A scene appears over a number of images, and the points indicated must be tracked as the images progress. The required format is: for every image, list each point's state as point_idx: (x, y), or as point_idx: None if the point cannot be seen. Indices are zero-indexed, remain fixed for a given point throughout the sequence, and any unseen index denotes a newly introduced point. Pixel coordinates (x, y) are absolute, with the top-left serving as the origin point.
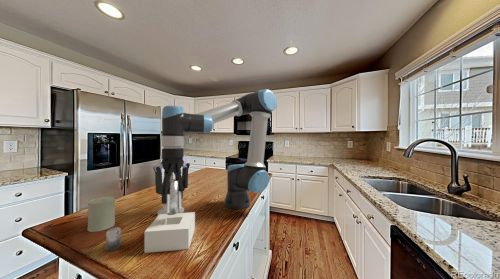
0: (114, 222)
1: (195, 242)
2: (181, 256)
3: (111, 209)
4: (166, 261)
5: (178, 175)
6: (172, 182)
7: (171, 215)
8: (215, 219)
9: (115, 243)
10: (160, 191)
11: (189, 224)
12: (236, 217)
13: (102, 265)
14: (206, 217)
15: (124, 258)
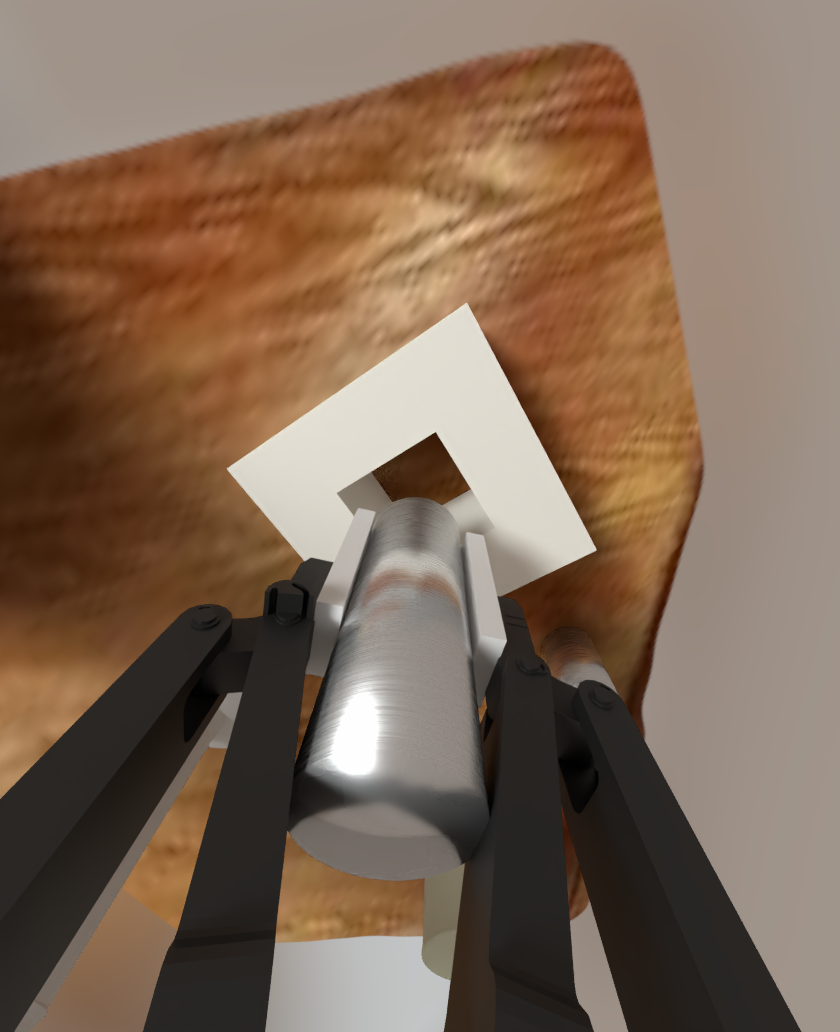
0: None
1: (387, 320)
2: (526, 296)
3: (460, 866)
4: (584, 343)
5: (270, 900)
6: (463, 767)
7: None
8: (101, 392)
9: (585, 645)
10: (614, 716)
11: (409, 348)
12: None
13: (672, 576)
14: (124, 470)
15: (616, 542)
